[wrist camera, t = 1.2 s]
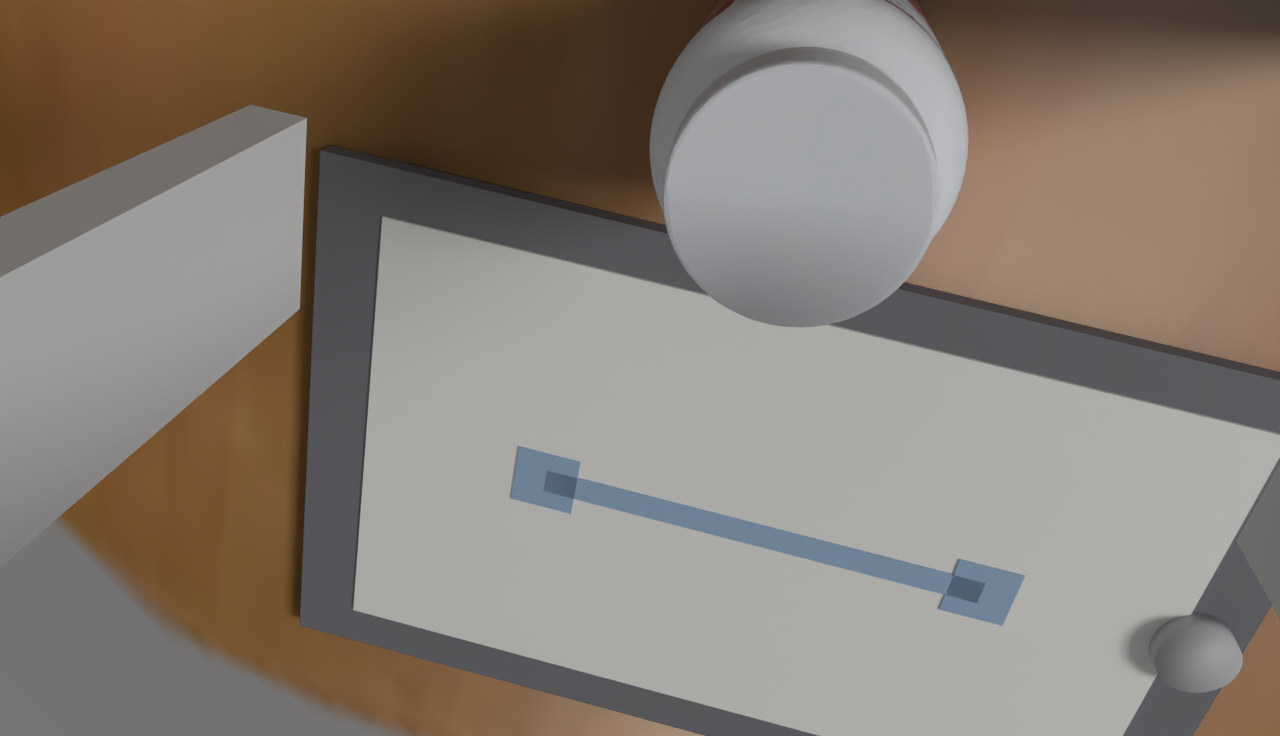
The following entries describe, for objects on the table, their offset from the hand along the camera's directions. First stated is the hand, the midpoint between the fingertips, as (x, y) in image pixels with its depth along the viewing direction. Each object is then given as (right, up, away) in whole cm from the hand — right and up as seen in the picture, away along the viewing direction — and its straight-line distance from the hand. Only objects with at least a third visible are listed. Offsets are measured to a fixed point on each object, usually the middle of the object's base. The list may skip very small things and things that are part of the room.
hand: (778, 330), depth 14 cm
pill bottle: (+3, +7, +14) cm, 16 cm away
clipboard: (+2, -5, +20) cm, 21 cm away
